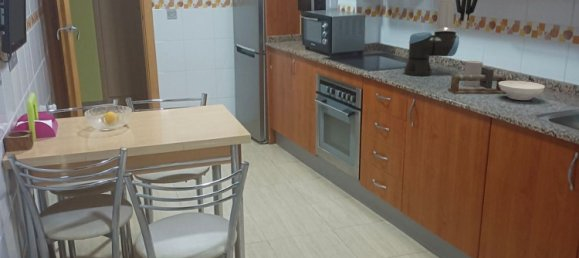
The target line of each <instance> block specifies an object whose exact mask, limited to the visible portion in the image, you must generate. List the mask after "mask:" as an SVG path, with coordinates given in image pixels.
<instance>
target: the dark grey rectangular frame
mask: <svg viewBox="0 0 579 258" xmlns="http://www.w3.org/2000/svg"><path fill="white" fill-rule="evenodd" d="M494 72H495V69H493V68H490V67H487V66H486V67H485V66H482V68H481V75H484V74H487V76H486V81H480V86H479V87H482V88H486V89H492V88H493V82H494V81H493V75H494Z"/></svg>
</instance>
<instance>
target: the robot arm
mask: <svg viewBox="0 0 579 258" xmlns="http://www.w3.org/2000/svg"><path fill="white" fill-rule="evenodd" d="M478 1H479V0H438V1H437V2H438V6H437V8H438V9H437V29H436V30H435V31H434V32H433V33H434V34H432V32H431V31H425V32H416V33H412V34H411V35H410V36H409V41H408V44H409V45H408V55H407V57H408V58H407V62H406V65H405V67H404V68H403V70H404V71H403V73H404V74H405V75H407V76H415V77H428V76H431V75H432V67H431V64H430V57H453V56H455V55H456V53H457V51H458V48H459V44H460V36H459V35H457V34H456V33H457V31H456V30H455V29H454V21H455V19H454V18H455V17H454V16H455V6H456V12H457V14H460V18H459V21H461V24H460V26H461V27H460V28H462V29H467V24H468V21H469V20H470V15H471V14H474V12H475V10H476V6H477V5H478V4H477V3H478ZM455 4H456V5H455Z"/></svg>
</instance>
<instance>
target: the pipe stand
mask: <svg viewBox="0 0 579 258" xmlns="http://www.w3.org/2000/svg"><path fill="white" fill-rule="evenodd" d="M486 76H487V74H484V75H465V74H454V75H451V79H450V88H448V89H447V91H448V92H449V93H452V94H454V95H482V94H483V95H500V94H501V95H505V94H506V92H505V91H502V90H501V89H500V87H499V84H498V83H499V82H501V81H507V77H505V76H504V75H503V74H493V81H492V82H496V83H495V84H496V85H495V88H494V87H492V89H486V88H484V87H482V88H477V87H476V88H475V87H474V88H463V87H462V88H460V82H464V81H486ZM506 95H507V94H506Z"/></svg>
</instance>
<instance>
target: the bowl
mask: <svg viewBox="0 0 579 258" xmlns="http://www.w3.org/2000/svg"><path fill="white" fill-rule="evenodd" d="M498 84H499V87H500V89H501V90H502V91H505V92H506V95H507V98H508V99H512V100H518V101H529V100H532V99H533V98H534V97H535V96H536V95H539V94H541V93H542V92H543V91H544V90H545V88H546V87H545V85H543V84H541V83H537V82H531V81H524V80H523V81H522V80H506V81H501V82H499V83H498Z"/></svg>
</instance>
